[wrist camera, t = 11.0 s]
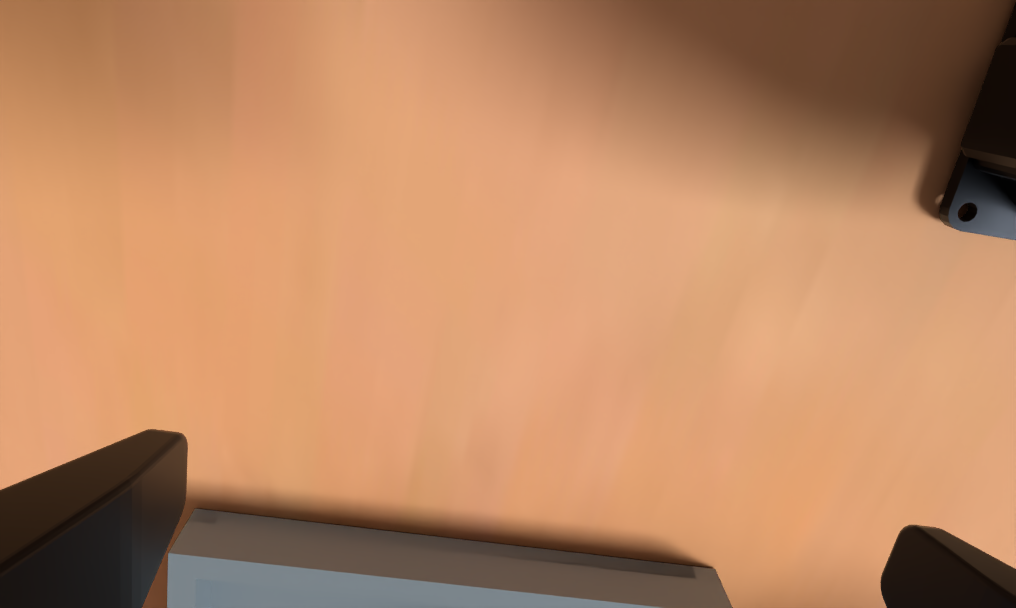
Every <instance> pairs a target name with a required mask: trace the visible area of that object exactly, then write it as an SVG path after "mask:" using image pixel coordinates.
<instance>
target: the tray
mask: <svg viewBox="0 0 1016 608" xmlns="http://www.w3.org/2000/svg"><path fill="white" fill-rule="evenodd" d="M167 608H732V605H731V603H730V601H729V599H728V597H727V594H726V592H725V590H724V588H723V586H722V583H721V581H720V579H719V577H718V574H717V572H716V570H715V569H712V568H704V567H695V566H686V565H678V564H669V563H661V562H652V561H643V560H635V559H626V558H617V557H609V556H600V555H592V554H583V553H574V552H566V551H557V550H549V549H540V548H531V547H523V546H514V545H505V544H497V543H488V542H480V541H471V540H462V539H454V538H445V537H437V536H428V535H419V534H411V533H402V532H393V531H385V530H376V529H368V528H359V527H350V526H342V525H333V524H325V523H316V522H307V521H299V520H290V519H282V518H273V517H264V516H256V515H247V514H238V513H230V512H221V511H213V510H204V509H194V511H193V513H192V514H191V516H190V518H189V519H188V521H187V523H186V524H185V526H184V528H183V529H182V531H181V533H180V534H179V536H178V538H177V539H176V541H175V543H174V544H173V546H172V548H171V549H170V551H169V553H168V585H167Z"/></svg>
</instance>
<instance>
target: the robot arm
mask: <svg viewBox="0 0 1016 608" xmlns="http://www.w3.org/2000/svg"><path fill="white" fill-rule="evenodd" d="M961 147H962V149H961V152H960V154H959V157H958V160H957V162H956V165H955V168H954V170H953V173H952V176H951V178H950V181H949V184H948V187H947V189H946V192H945V195H944V197H943V200H942V203H941V205H940V210H939V215H940V219H941V221H942V222H943V223H944V224H945V225H947V226H949V227H952V228H954V229H957V230H959V231H964V232H970V233H976V234H982V235H988V236H994V237H1000V238H1006V239H1012V240H1016V4H1015V6H1014V9H1013V12H1012V14H1011V17H1010V20H1009V22H1008V25H1007V28H1006V30H1005V33H1004V36H1003V39H1002V41H1001V44H1000V45H999V46H998V47H997V48H996V50H995V53H994V56H993V59H992V61H991V64H990V67H989V69H988V72H987V75H986V77H985V80H984V83H983V85H982V88H981V91H980V94H979V96H978V99H977V102H976V104H975V107H974V110H973V112H972V115H971V118H970V121H969V123H968V126H967V129H966V131H965V134H964V137H963V139H962V142H961ZM965 203H967V205H968V208H967V211H966V213H965V214H964V215H963V216H962V217H960V218H959V217H958V210H959V209H960V207H961V206H962V205H964V204H965ZM187 453H188V444H187V439H186V437H185V436H184V435H183V434H182V433H179V432H171V431H164V430H156V429H148V430H145V431H143V432H140V433H138V434H136V435H133V436H131V437H128V438H126V439H123V440H121V441H119V442H116V443H114V444H111V445H109V446H106V447H104V448H102V449H99V450H97V451H94V452H92V453H89V454H87V455H85V456H82V457H80V458H77V459H75V460H72V461H70V462H68V463H65V464H63V465H60V466H58V467H55V468H53V469H51V470H48V471H46V472H43V473H41V474H38V475H36V476H33V477H31V478H29V479H26V480H24V481H21V482H19V483H16V484H14V485H12V486H9V487H7V488H4V489H2V490H0V608H142V606H143V603H144V601H145V599H146V596H147V594H148V592H149V589H150V587H151V585H152V582H153V580H154V578H155V575H156V573H157V571H158V568H159V566H160V564H161V561H162V559H163V557H164V554H165V552H166V550H167V547H168V545H169V543H170V540H171V538H172V535H173V533H174V531H175V528H176V526H177V524H178V521H179V519H180V517H181V514H182V511H183V508H184V504H185V499H186V486H187ZM881 592H882V596H883V599H884V601H885V604H886V606H887V608H1016V569H1015V568H1013V567H1011V566H1009V565H1007V564H1005V563H1004V562H1002V561H1000V560H998V559H996V558H994V557H992V556H991V555H989V554H987V553H985V552H983V551H981V550H980V549H978V548H976V547H974V546H972V545H970V544H968V543H967V542H965V541H963V540H961V539H959V538H957V537H955V536H954V535H952V534H950V533H948V532H946V531H944V530H942V529H940V528H936V527H928V526H920V525H908V526H906V527H904V528H903V529H902V530H901V531H900V533H899V535H898V537H897V539H896V542H895V544H894V547H893V549H892V551H891V554H890V556H889V559H888V561H887V563H886V566H885V568H884V571H883V573H882V576H881Z"/></svg>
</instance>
